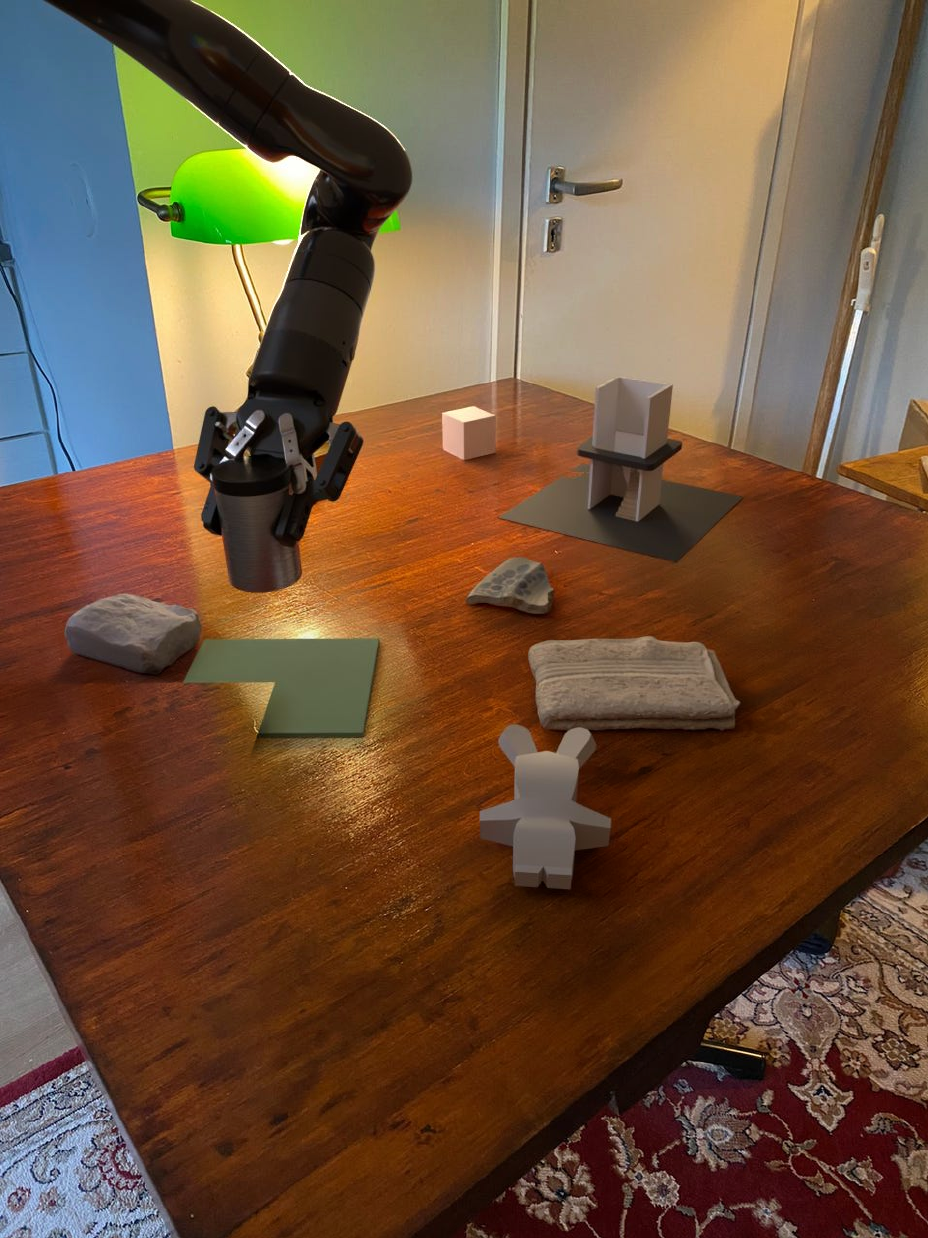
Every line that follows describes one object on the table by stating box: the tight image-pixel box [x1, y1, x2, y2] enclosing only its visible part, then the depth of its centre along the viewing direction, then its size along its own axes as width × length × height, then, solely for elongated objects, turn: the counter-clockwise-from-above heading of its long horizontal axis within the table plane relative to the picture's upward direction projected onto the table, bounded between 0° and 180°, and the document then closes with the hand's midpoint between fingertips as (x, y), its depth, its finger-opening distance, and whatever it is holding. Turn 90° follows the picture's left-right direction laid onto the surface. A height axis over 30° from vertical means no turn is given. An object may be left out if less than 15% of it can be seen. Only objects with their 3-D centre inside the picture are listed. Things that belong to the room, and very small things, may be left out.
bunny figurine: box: [479, 723, 612, 890], centre depth 68 cm, size 10×5×15 cm
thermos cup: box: [211, 455, 303, 594], centre depth 73 cm, size 6×6×10 cm
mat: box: [182, 637, 381, 739], centre depth 86 cm, size 18×16×1 cm
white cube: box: [441, 405, 497, 461], centre depth 142 cm, size 6×6×6 cm
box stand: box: [497, 375, 744, 563], centre depth 119 cm, size 25×24×16 cm
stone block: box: [64, 593, 203, 676], centre depth 92 cm, size 12×5×10 cm
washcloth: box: [527, 635, 741, 732], centre depth 83 cm, size 12×18×3 cm, turn 91°
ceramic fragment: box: [465, 556, 555, 615], centre depth 101 cm, size 11×3×10 cm
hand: (248, 537), depth 72 cm, fingers closed on thermos cup, 6 cm apart
